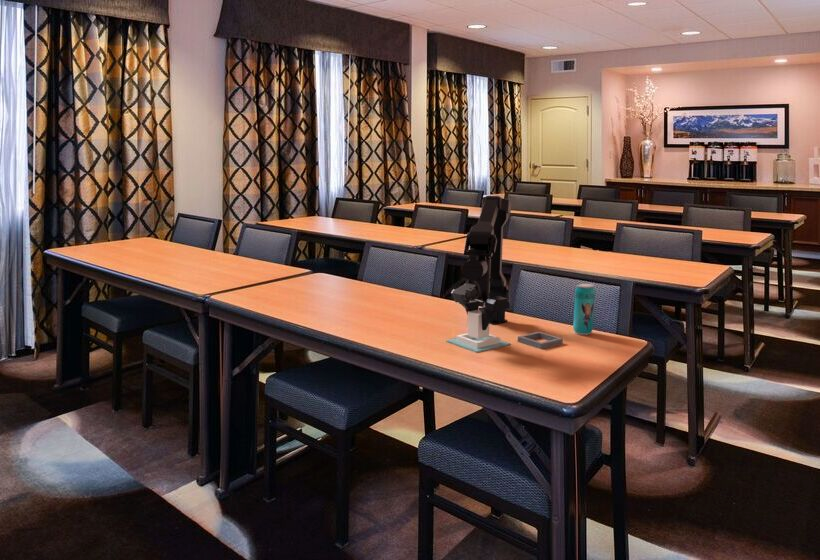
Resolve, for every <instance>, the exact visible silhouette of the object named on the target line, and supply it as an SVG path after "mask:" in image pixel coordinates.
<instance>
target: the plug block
mask: <svg viewBox="0 0 820 560" xmlns="http://www.w3.org/2000/svg"><path fill="white" fill-rule="evenodd" d="M466 327H467V331H466V333H467V335H468V336H471V337H474V338H477V339H479V338H484V337H488V336H489V334H490V324H489V325H488V327H487V329H486V330H482V313H481V311H480V310H479V309H478V310H474V311H468V315H467V326H466Z"/></svg>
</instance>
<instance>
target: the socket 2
mask: <svg viewBox="0 0 820 560" xmlns="http://www.w3.org/2000/svg"><path fill="white" fill-rule="evenodd" d="M536 339H542V340H545V341H537V340H536ZM517 342H519V343H522V344H523V345H524V344H525V345H528V346H531V347H534V348H536V349H541V350H543V349H547V348H551V347H555V346H559V345H562V343H563V342H564V339H563V337H559V336H555V335H552V334H549V333H545V332H542V331H535V332H531V333H527V334H524V335H523V334H522V335H519V336H517ZM563 344H564V343H563Z"/></svg>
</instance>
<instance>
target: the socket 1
mask: <svg viewBox="0 0 820 560" xmlns="http://www.w3.org/2000/svg"><path fill="white" fill-rule="evenodd" d="M445 342H447V343H448V344H450V345H451V344H452V345H455V346H457V347H459V348H463V349H465V350H468V351H471V352H474V353H475V354H476V353H481V352H482V353H483V352H486V351H489V350H493V349H494V350H495V349H498V348H502V347H506V346H507V347H508V346H511V343H510V342H507V341H504V340H501V337H500V336H496V335H494V334H490V333H489V336H488V337H484V338H479V339H477V338H474V337H471V336H468V335H467V332H466V333H461V334H457V335H455V338H449V339H445Z"/></svg>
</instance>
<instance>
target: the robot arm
mask: <svg viewBox="0 0 820 560" xmlns="http://www.w3.org/2000/svg"><path fill="white" fill-rule="evenodd" d="M480 208H481V211H480V214H479V218H478V221H477V223H476V224H473V226H471V228H470V229H469V232H468V233H467V234H466V238H465V243H464V250H463V251H464V252H463V256H468V259H467V261H465V262H464V263H463V266H462V268H461V270H462V271H461V272H462V276H463V277H464V278H465V283H464V284H463V285H460V286H458V287H457V288H453V289H452V290H451V292H450V300H453V301H454V302H455V304H456V303H458V304H459V305H460V306H462V307H463V308H464V310H465V312H466V314H467V316H468V311H474V310H480V311H481V313H482V330H486V329H487V327H488V325H489V326H490V324H492V325H496V324H501V323H506V322H508V319H506V310H508V309H510V304H511V303H510V302H511V298H510V297H511V296H510V295H511V294H510V290H509V288H508V285H507V280H506V277H505V276H504V273H503V272H502V268H503V267H502V264H503V245H504V243H503V241H504V239H503V238H504V226H505V225H506V223H507V222H508V219H509V216H510V214H511V212H512V211H511V210H512V203H511V201H510V200H509V199H508V198H502V196H499V195H485V196H484V197H483V198H482V199H481V207H480ZM480 304H483V307H480Z"/></svg>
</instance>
